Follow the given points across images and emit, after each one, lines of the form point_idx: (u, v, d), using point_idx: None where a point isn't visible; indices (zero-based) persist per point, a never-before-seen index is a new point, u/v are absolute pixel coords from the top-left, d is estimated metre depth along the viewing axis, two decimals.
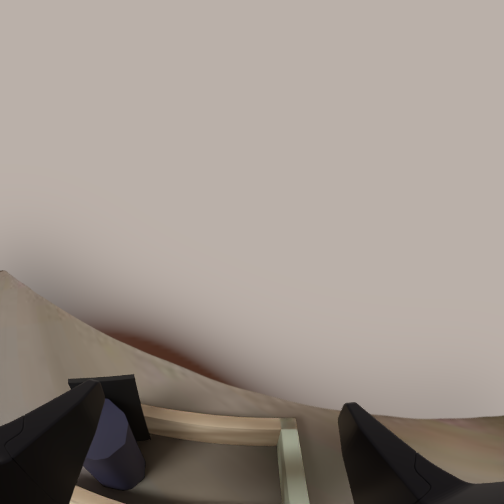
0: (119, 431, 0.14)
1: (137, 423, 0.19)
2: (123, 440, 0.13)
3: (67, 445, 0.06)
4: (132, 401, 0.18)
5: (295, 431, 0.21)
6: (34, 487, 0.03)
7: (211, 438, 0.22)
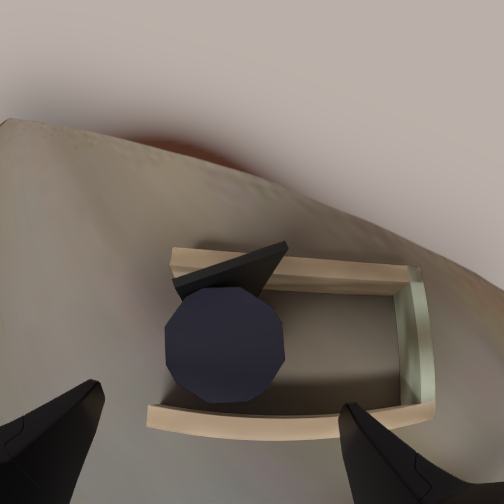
0: (272, 341, 0.12)
1: (253, 290, 0.18)
2: (281, 355, 0.12)
3: (67, 445, 0.06)
4: (265, 272, 0.15)
5: (422, 285, 0.20)
6: (35, 488, 0.03)
7: (331, 289, 0.22)
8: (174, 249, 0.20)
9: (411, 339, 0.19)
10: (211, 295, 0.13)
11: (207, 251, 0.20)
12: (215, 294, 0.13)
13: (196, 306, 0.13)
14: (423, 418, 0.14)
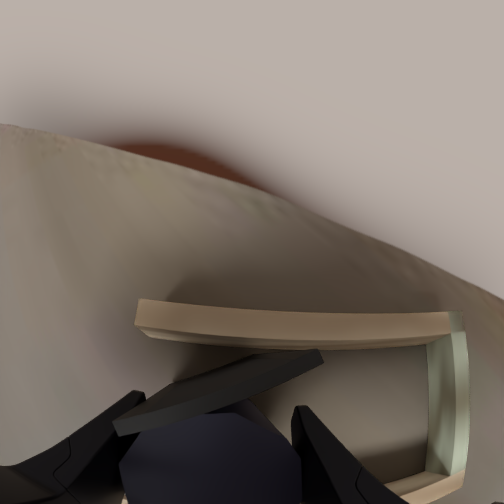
0: (285, 483, 0.06)
1: None
2: (297, 496, 0.06)
3: (115, 463, 0.06)
4: None
5: (463, 335, 0.14)
6: None
7: (354, 347, 0.16)
8: (140, 301, 0.14)
9: (447, 403, 0.12)
10: (186, 426, 0.06)
11: (185, 306, 0.14)
12: (192, 424, 0.06)
13: (163, 441, 0.06)
14: (450, 490, 0.08)
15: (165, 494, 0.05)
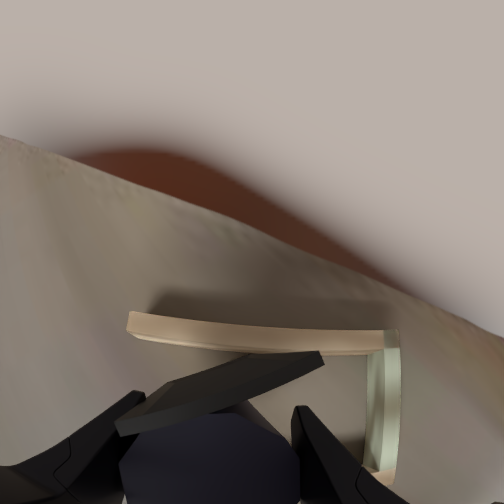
0: (283, 482, 0.06)
1: None
2: (295, 496, 0.06)
3: (115, 463, 0.06)
4: None
5: (398, 351, 0.18)
6: None
7: None
8: (130, 313, 0.18)
9: (378, 407, 0.17)
10: (186, 426, 0.06)
11: (163, 317, 0.18)
12: (193, 424, 0.06)
13: (163, 441, 0.06)
14: None
15: (165, 493, 0.05)
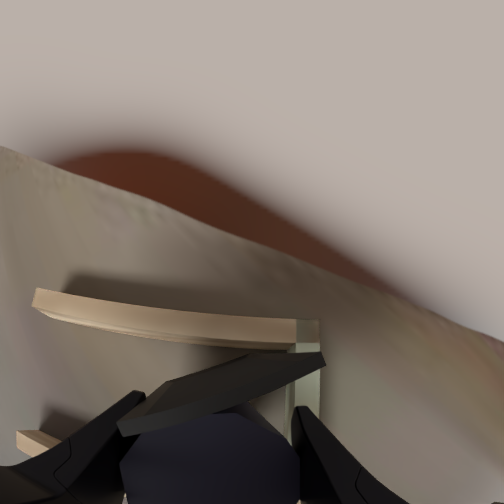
0: (284, 482, 0.06)
1: None
2: (295, 495, 0.06)
3: (115, 463, 0.06)
4: None
5: (316, 347, 0.16)
6: None
7: (193, 342, 0.18)
8: (36, 290, 0.16)
9: (290, 417, 0.14)
10: (188, 426, 0.06)
11: (59, 294, 0.16)
12: (194, 424, 0.07)
13: (164, 441, 0.06)
14: None
15: (166, 493, 0.05)
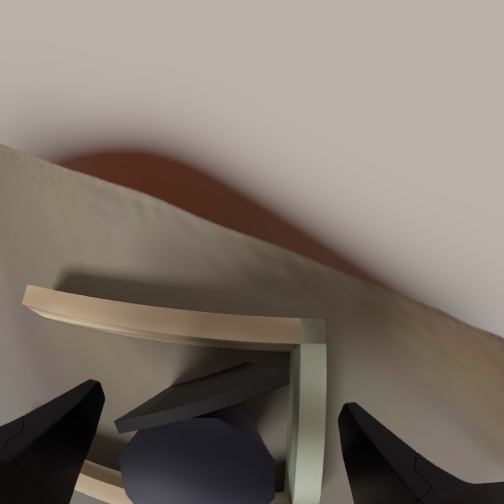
0: (260, 481, 0.07)
1: None
2: (271, 494, 0.07)
3: (67, 445, 0.06)
4: None
5: (323, 349, 0.15)
6: (35, 488, 0.03)
7: (190, 343, 0.16)
8: (27, 287, 0.15)
9: (294, 423, 0.13)
10: (176, 427, 0.08)
11: (50, 291, 0.15)
12: (181, 426, 0.08)
13: (156, 438, 0.07)
14: None
15: (157, 484, 0.07)
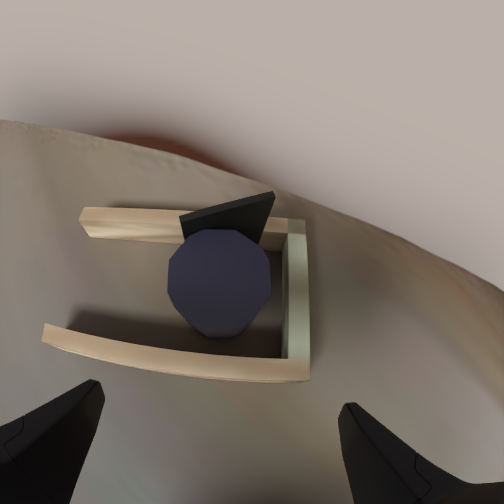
0: (260, 276, 0.15)
1: None
2: (268, 288, 0.15)
3: (67, 445, 0.06)
4: (257, 224, 0.18)
5: (303, 237, 0.22)
6: (34, 487, 0.03)
7: None
8: (84, 208, 0.23)
9: (286, 290, 0.21)
10: (210, 235, 0.15)
11: (105, 208, 0.23)
12: (213, 234, 0.15)
13: (197, 243, 0.15)
14: (291, 376, 0.17)
15: (192, 278, 0.14)
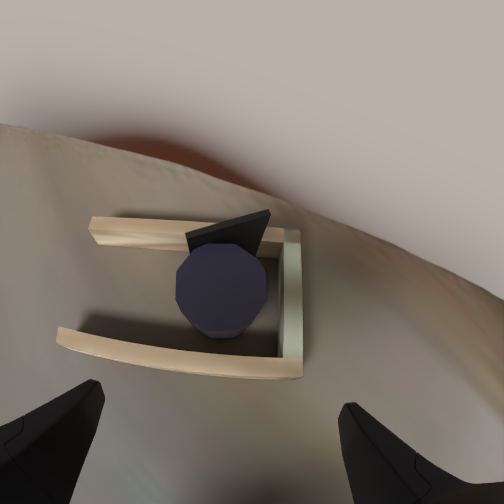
0: (257, 285, 0.17)
1: None
2: (264, 296, 0.17)
3: (67, 445, 0.06)
4: (255, 237, 0.19)
5: (298, 246, 0.24)
6: (34, 487, 0.03)
7: None
8: (93, 218, 0.24)
9: (282, 295, 0.23)
10: (212, 249, 0.17)
11: (113, 218, 0.25)
12: (215, 248, 0.17)
13: (201, 256, 0.17)
14: (286, 374, 0.19)
15: (197, 287, 0.16)
